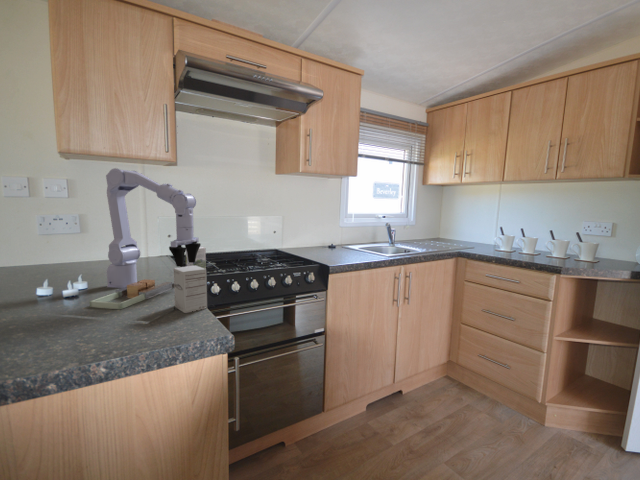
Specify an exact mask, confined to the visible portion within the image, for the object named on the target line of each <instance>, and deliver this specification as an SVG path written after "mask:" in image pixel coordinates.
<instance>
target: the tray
mask: <svg viewBox="0 0 640 480" xmlns="http://www.w3.org/2000/svg"><path fill="white" fill-rule="evenodd" d="M118 298H120V297H119V295H118V292H116V293H115V292H113V293H110V294H108V295H104V296H101V297H98V298H96V299H92V300H89V301H88V302H89V303H88V304H89V308H96V309H97V308H99V309H111V310H112V309H113V310H122V309H123V310H124V309H125V308H127V307H129V306H131V305H134V304H137V303H139V302H142V301H144V300H146V299H145V294H141V295H139V296H136V297H134V298H127V300H124V301H122V302H114V301H113V300H115V299H118ZM112 301H113V302H112Z"/></svg>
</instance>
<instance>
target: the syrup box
mask: <svg viewBox="0 0 640 480" xmlns="http://www.w3.org/2000/svg"><path fill="white" fill-rule="evenodd" d="M206 255H207V253H206V247H204V246H200V247H199V249H198V252H197V255H196V259H195V262H194V263H190V262H189V261H188V254H187V250H186V251H185V267H186V266H195V265H196V266H199V267H201V268H204V269H206V270H207V268H206V267H207V263H206V260H207V257H206Z"/></svg>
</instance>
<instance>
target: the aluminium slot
mask: <svg viewBox="0 0 640 480" xmlns="http://www.w3.org/2000/svg"><path fill="white" fill-rule="evenodd" d="M172 289H174V288H173V282H171V281H170V282H169V281H165V282H162V283H160V284H157V285H155V286H154V287H151V288H149V289H146V290H143V291H141V292H139V295H141V294H145V299H144V300H148V299H151V298H153V297H156V296H158V295H162V294H163V293H166V292H167V291H170V290H172ZM116 292H118V295H119V297H118V298H121V299H122V298H124V299H131V298H134V297H128V296H127V287H125V288H118V289H116V290H115V291H114V293H116Z"/></svg>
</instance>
